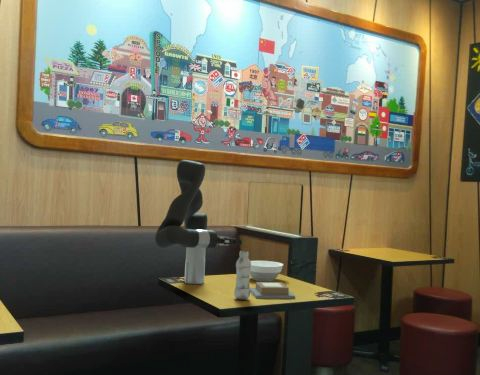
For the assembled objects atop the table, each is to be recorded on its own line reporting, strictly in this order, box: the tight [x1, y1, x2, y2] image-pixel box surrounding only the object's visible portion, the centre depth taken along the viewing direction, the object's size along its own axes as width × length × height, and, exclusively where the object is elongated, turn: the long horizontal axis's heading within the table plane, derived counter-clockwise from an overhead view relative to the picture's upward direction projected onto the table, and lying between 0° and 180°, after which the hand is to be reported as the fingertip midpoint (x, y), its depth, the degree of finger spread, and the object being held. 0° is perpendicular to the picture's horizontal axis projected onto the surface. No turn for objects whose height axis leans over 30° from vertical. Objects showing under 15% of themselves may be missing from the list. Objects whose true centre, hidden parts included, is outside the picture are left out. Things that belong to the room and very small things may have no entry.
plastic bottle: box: [233, 250, 251, 301], centre depth 212 cm, size 6×7×20 cm
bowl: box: [250, 260, 284, 282], centre depth 259 cm, size 19×20×8 cm
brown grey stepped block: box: [249, 281, 296, 300], centre depth 224 cm, size 17×16×4 cm
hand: (234, 241), depth 211 cm, fingers open, 8 cm apart
